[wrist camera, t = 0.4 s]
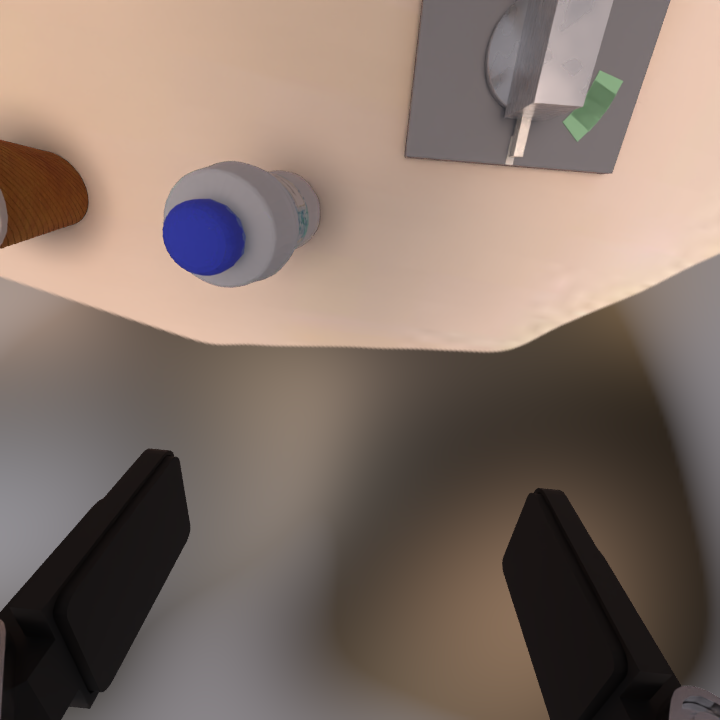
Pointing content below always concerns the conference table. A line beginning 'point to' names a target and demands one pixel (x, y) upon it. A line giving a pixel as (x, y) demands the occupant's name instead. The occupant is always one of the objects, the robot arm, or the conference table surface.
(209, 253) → the bottle
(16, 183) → the disposable coffee cup
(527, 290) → the conference table surface
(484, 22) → the dial board
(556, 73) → the knob
